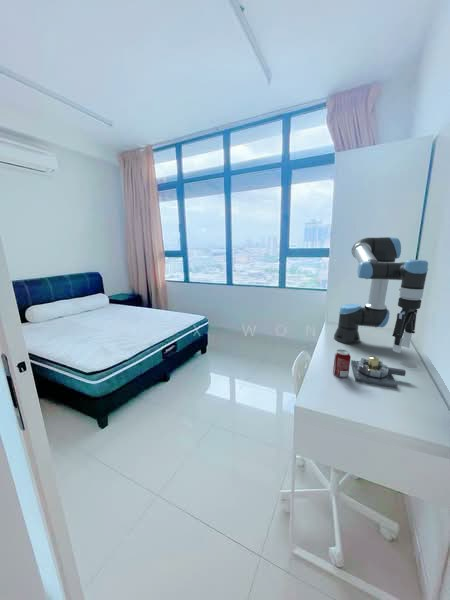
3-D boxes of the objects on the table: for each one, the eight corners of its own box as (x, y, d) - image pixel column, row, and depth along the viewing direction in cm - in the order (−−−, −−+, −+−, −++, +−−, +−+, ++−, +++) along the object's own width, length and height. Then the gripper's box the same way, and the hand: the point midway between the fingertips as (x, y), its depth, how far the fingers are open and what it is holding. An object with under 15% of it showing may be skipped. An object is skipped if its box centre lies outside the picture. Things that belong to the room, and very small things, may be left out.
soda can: (349, 379, 114) (352, 355, 112) (334, 377, 116) (337, 354, 113) (346, 372, 121) (348, 349, 118) (331, 370, 122) (333, 348, 119)
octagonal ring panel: (359, 374, 114) (360, 367, 113) (356, 362, 125) (357, 356, 124) (408, 382, 108) (410, 374, 107) (400, 369, 118) (401, 362, 118)
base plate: (350, 363, 129) (352, 347, 127) (386, 369, 124) (388, 352, 121) (355, 381, 113) (357, 363, 111) (396, 388, 107) (399, 370, 105)
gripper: (410, 293, 109) (401, 340, 115) (388, 299, 98) (380, 352, 103) (430, 296, 103) (420, 346, 109) (410, 303, 92) (400, 358, 97)
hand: (401, 349), depth 106 cm, fingers open, 8 cm apart
